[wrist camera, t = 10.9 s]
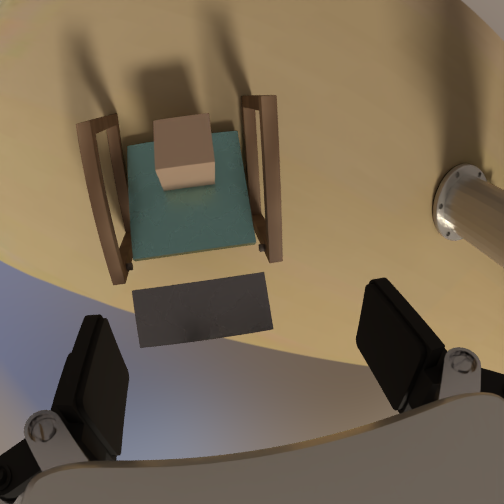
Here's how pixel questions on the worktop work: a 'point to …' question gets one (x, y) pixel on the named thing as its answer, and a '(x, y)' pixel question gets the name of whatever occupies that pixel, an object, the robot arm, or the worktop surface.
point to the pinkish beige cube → (184, 152)
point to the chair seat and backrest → (194, 249)
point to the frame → (115, 256)
